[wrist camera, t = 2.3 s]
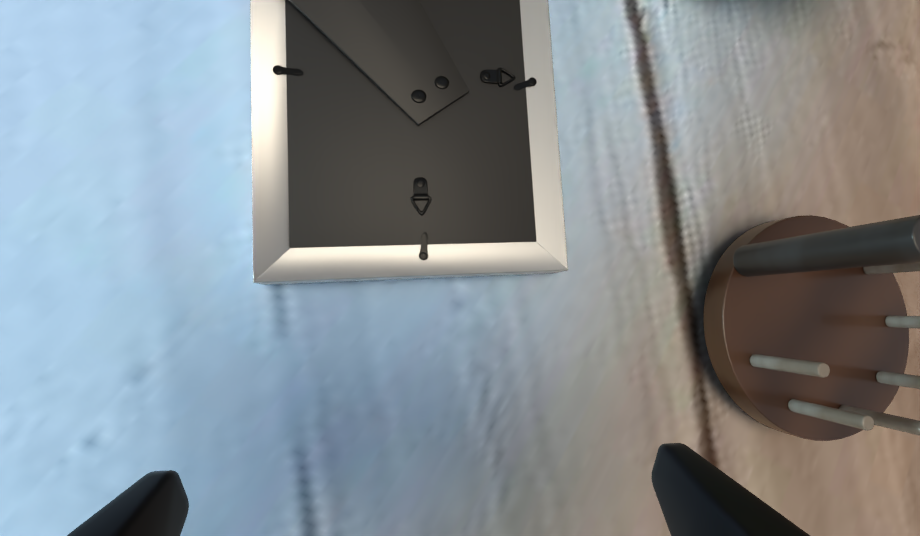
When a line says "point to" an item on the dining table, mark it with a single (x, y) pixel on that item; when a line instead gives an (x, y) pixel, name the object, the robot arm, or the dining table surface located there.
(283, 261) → the picture frame
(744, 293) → the rack
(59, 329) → the dining table surface
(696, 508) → the robot arm
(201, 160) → the dining table surface
